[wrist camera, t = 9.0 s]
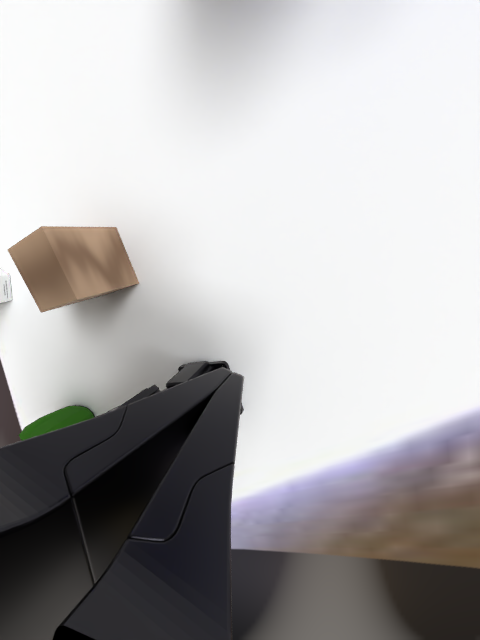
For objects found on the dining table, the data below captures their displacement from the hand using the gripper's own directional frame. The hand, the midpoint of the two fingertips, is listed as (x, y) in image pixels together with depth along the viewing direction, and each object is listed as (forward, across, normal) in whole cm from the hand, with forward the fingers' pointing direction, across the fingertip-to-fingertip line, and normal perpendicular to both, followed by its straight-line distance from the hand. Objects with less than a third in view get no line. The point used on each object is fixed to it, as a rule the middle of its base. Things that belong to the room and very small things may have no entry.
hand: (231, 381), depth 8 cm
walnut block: (+13, +20, +3) cm, 24 cm away
